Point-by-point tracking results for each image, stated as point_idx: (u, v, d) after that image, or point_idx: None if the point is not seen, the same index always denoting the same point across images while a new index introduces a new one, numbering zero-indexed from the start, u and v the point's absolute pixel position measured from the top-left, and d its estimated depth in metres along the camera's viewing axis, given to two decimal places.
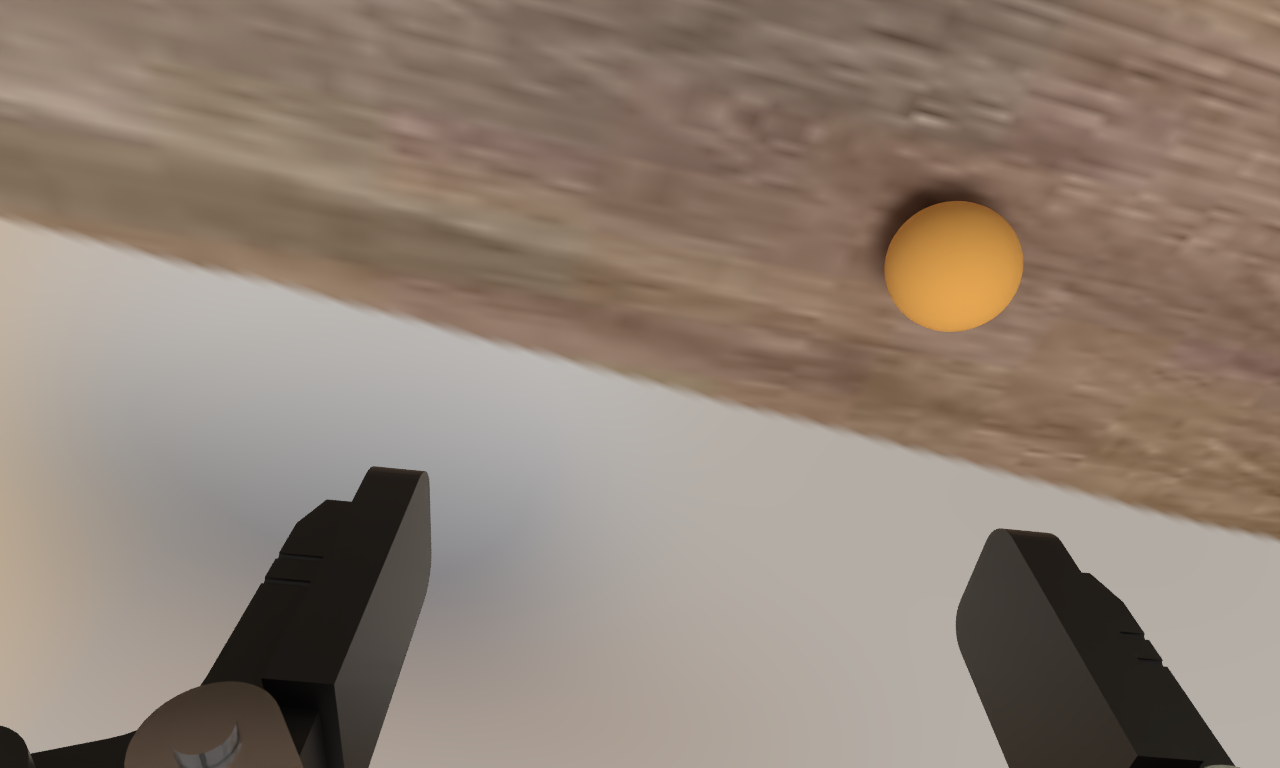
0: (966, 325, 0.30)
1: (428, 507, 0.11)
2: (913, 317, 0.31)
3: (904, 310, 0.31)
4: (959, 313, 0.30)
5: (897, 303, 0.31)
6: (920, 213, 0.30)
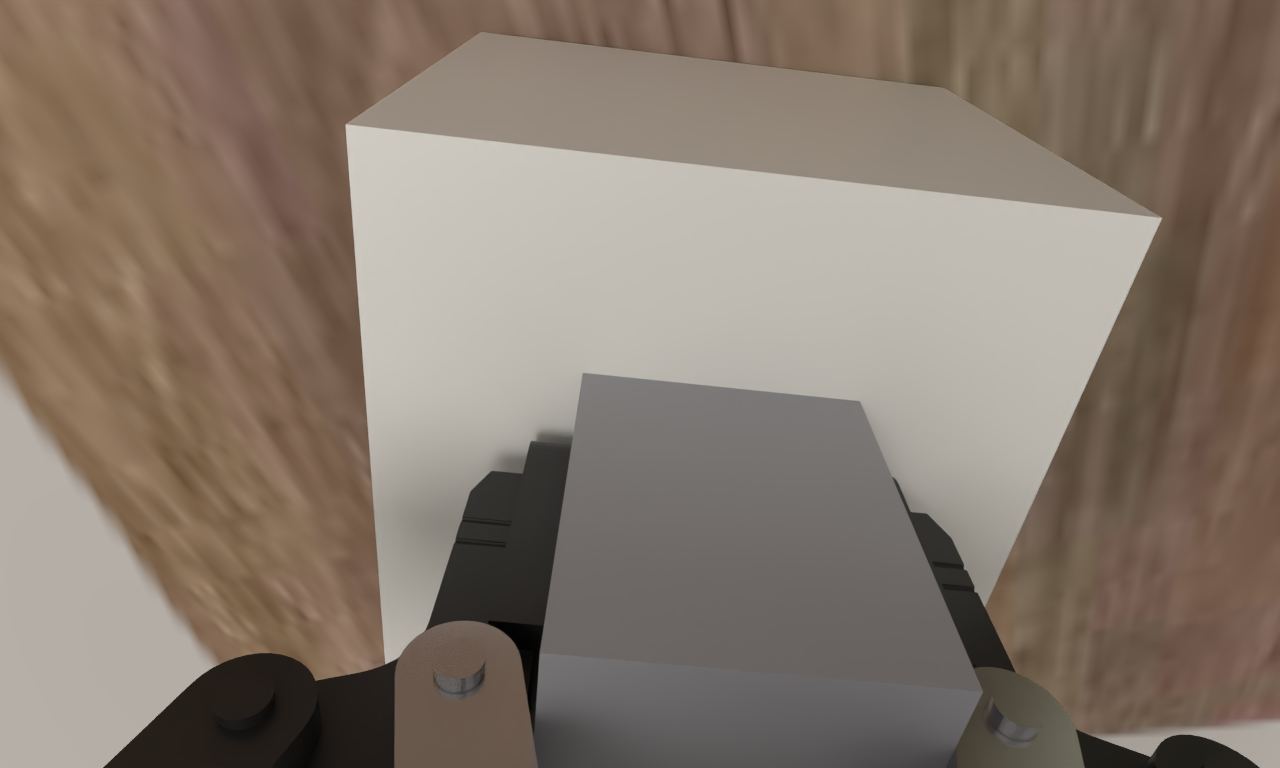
0: None
1: None
2: None
3: None
4: None
5: None
6: None
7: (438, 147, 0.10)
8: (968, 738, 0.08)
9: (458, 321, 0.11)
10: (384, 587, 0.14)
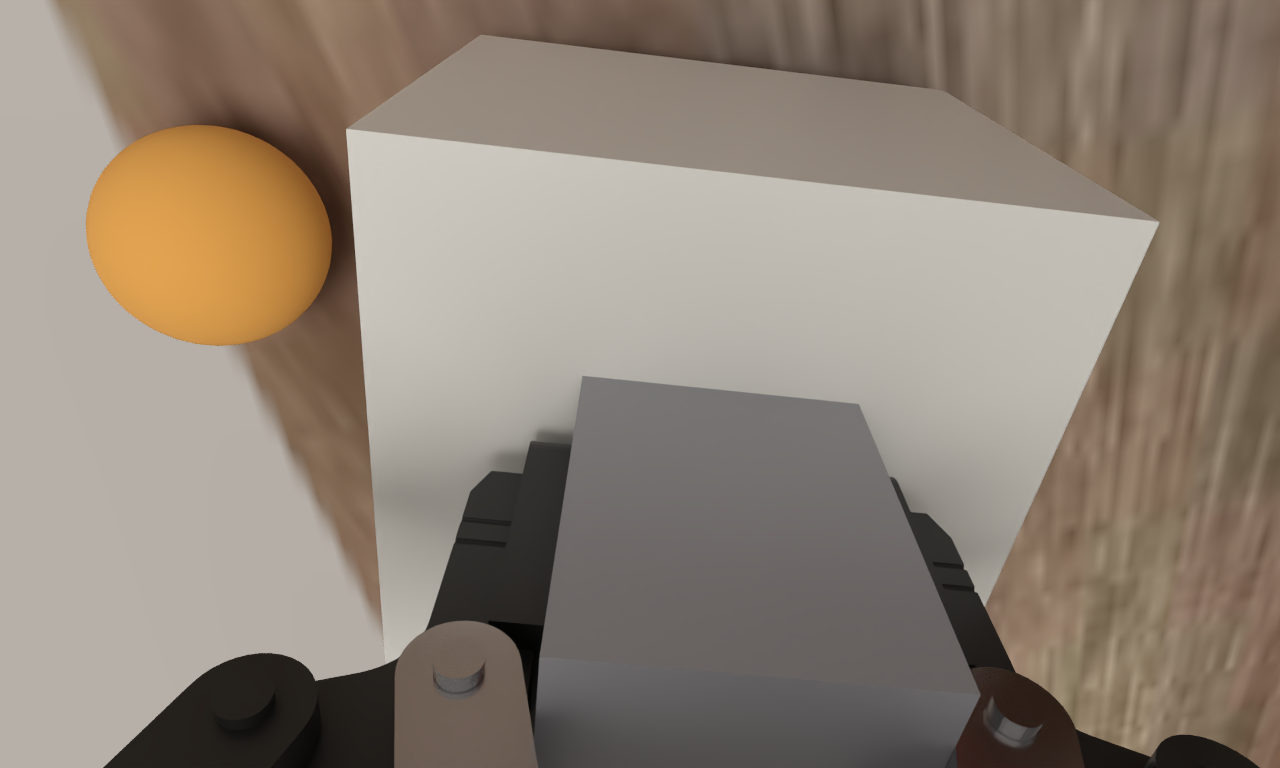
0: None
1: None
2: (329, 227, 0.19)
3: (324, 216, 0.19)
4: None
5: (316, 209, 0.18)
6: (151, 137, 0.17)
7: (438, 151, 0.10)
8: (968, 738, 0.08)
9: (458, 325, 0.11)
10: (384, 589, 0.14)
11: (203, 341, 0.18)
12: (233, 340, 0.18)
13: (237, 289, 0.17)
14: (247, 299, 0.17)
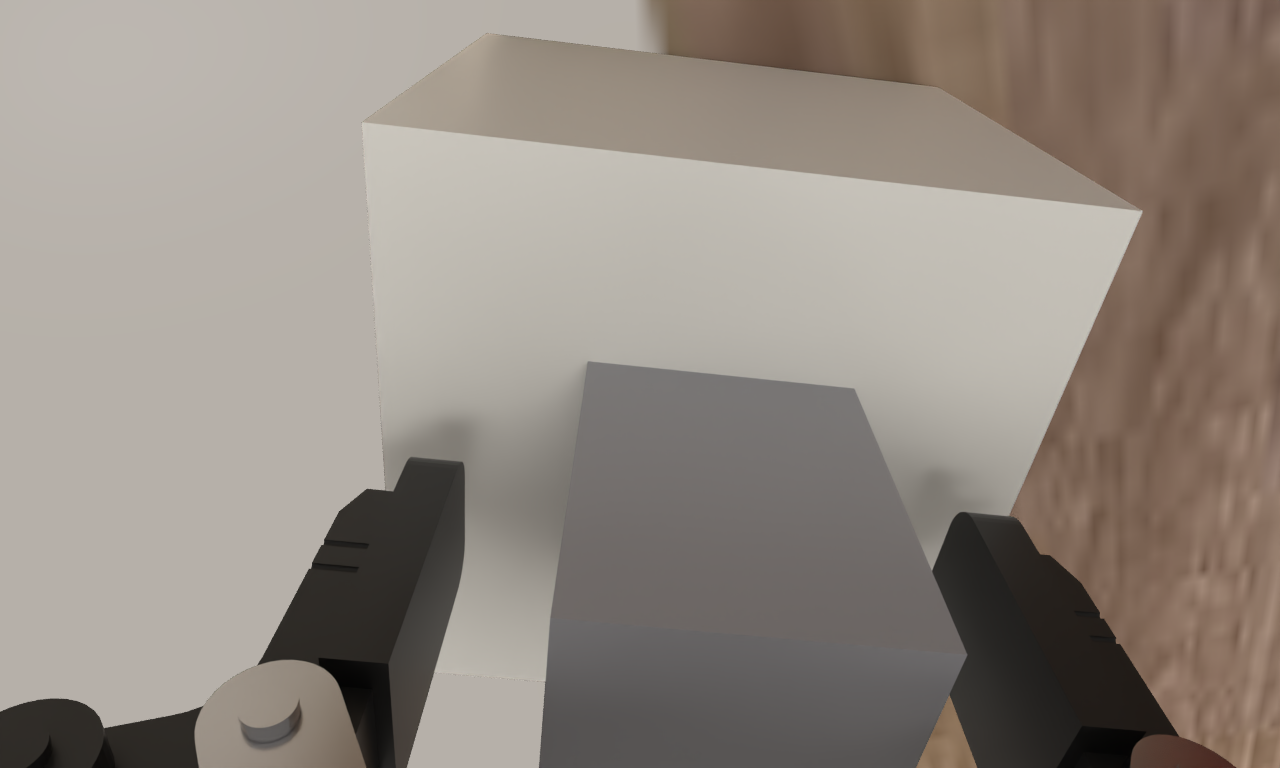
0: None
1: (463, 497, 0.11)
2: None
3: None
4: None
5: None
6: None
7: (450, 144, 0.10)
8: None
9: (468, 311, 0.11)
10: None
11: None
12: None
13: None
14: None
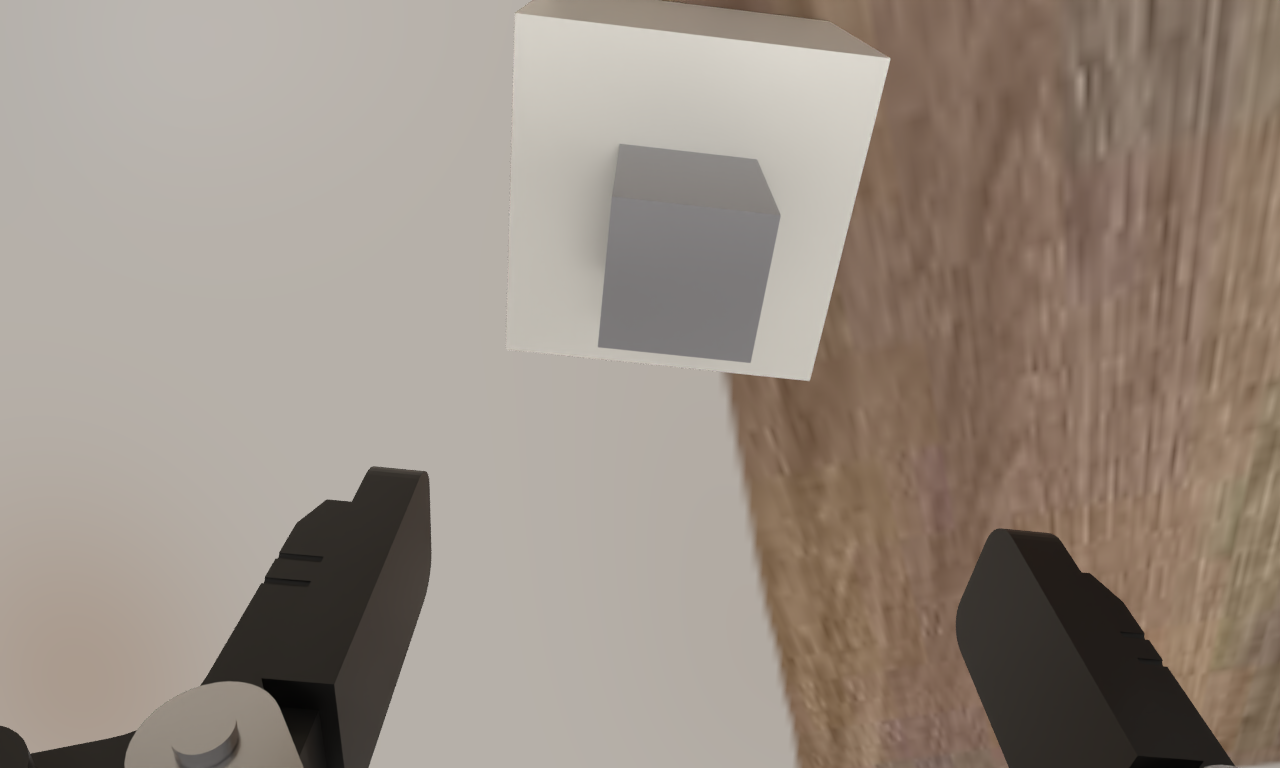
0: None
1: (428, 507, 0.11)
2: None
3: None
4: None
5: None
6: None
7: (556, 24, 0.21)
8: None
9: (560, 115, 0.23)
10: (510, 278, 0.25)
11: None
12: None
13: None
14: None
